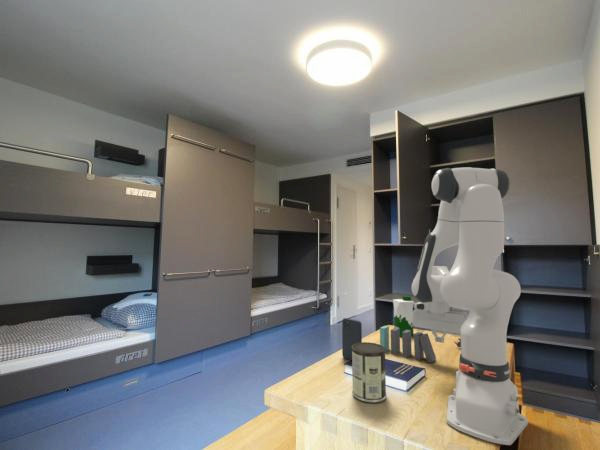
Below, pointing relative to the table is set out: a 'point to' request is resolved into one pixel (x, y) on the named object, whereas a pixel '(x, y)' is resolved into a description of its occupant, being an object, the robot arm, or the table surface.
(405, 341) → the domino
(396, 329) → the domino
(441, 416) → the table surface
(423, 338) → the domino
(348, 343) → the phone case
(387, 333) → the domino
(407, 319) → the milk carton
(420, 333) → the domino
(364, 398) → the coffee can
